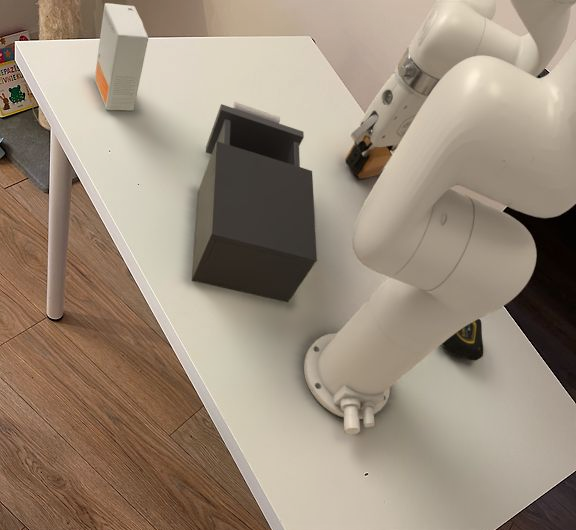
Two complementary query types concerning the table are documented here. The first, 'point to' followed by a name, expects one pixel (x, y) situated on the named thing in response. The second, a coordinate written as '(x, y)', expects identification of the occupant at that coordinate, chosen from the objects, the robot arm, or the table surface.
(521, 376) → the table surface
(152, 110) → the table surface
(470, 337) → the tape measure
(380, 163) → the block
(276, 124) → the dark grey box
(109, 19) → the cosmetic box
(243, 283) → the drawer cabinet
